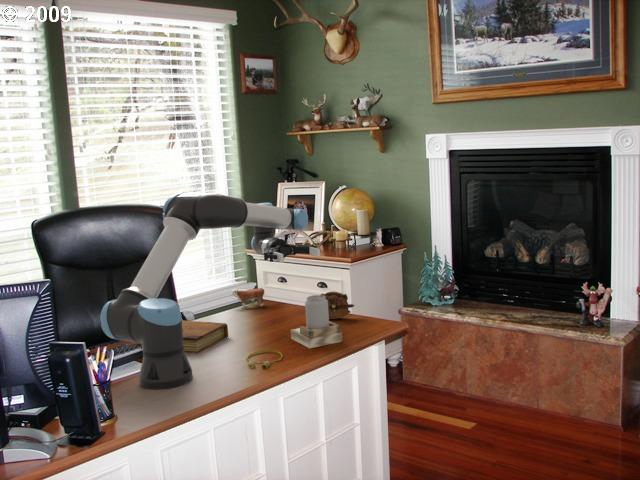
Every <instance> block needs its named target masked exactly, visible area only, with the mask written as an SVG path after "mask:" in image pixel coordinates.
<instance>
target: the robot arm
mask: <svg viewBox="0 0 640 480" xmlns="http://www.w3.org/2000/svg"><path fill="white" fill-rule="evenodd" d="M162 211H163V213H162V218H163V220H162V225H163V230H162V231H161V233H160V235H159V236H158V239H157V240H156V242H155V244H154V245H153V247H152V249H151V250H150V252H149V253H148V256H147V258H146V259H145V261H144V263H143V264H142V265H141V267H140V269H139V271H138V272H137V275H136V276H135V277H134V279H133V281H132V283H131V285H130V287H127V288H124V289H122V290H121V291H120V293H119V295H118V297H117V299H112V300H110V301H107V302H106V303H105V304H104V305H103V307H102V309H101V311H100V317H99V318H100V323H101V329H102V331H103V333H104V334H105V336H107V337H109V338H110V339H112V340H117V341H119V342H131V343H137V344H141V347H142V348H141V349H142V356H143V357H142V361H141V367H140V370H139V375H138V376H139V377H138V378H139V385H140V386H141V387H143V388H145V389H150V390H151V389H152V390H162V389H170V388H176V387H179V386H181V385H184V384H187V383H189V382H190V381H192V379H193V376H194V374H193V368H192V366H191V364H190V362H189V359H188V357H187V356H186V353H185V352H184V344H183V331H182V320H183V319H182V318H183V317H182V313H181V308H180V305H179V303H177V301H175V300H173V299H169V298H162V297H161V298H158V297H159V295H160V292H161V291H162V289H163V287H164V285H166V282H167V280H168V278H169V276H170V275H171V273H172V271H173V269H174V268H175V266H176V264H177V262H178V260H179V258H180V256H181V255H182V253H183V252H184V249H185V248H186V245H188V242H190V241H193V240H195V239H196V238H197V236H198V234H199V232H200V231H201V230H212V229H213V230H214V229H215V230H216V229H222V228H223V229H224V228H225V229H226V228H240V227H242V226H248V227H250V226H251V227H253V232H254V233H253V237H252V239H251V241H250V246H251V249H252V250H253V252H255V253H256V254H258V255H261V256H263V260H264V261H267V260H269V262H270V263H272V262H273V263H274V261H276V262H280V263H284V261H285V258H286V257H288V256H295V255H297V254H298V255H301V254H302V255H309V256H313V257H316V258H320V257H321V250H320V248H318V245H314V243H313V244H298V243H297V244H290V243H288V242H287V241H286V240H285V239H283V238H279V237H276V236H275V230H289V231H291V230H293V231H299V230H301V231H302V230H304V229H306V228H307V226H308V224H309V214H308V212H307V211H306V210H305V209H303V208H302V209H301V208H289V207H282V206H281V207H280V206H274V205H273V203H272V202H260V203H259V202H258V203H253V202H246V201H244V200H243V198H238V197H235V196H228V195H225V194H220V193H215V192H186V191H185V192H184V191H183V192H178V193H174V194H172V195H171V196H169V197H168V198H167V199H166V201H165V203H164V204H163V208H162Z"/></svg>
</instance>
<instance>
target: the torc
mask: <svg viewBox="0 0 640 480" xmlns="http://www.w3.org/2000/svg"><path fill="white" fill-rule="evenodd" d="M260 353H261V354H265V353H269V354H271V353H272V354H278V355H280V356H281V357H280V358H279V359H276V360H272V361H269V360H265V361H264V362H254V361H252V360H250V359H249V358H251V357H253V355H254V356H257V355H261V354H260ZM256 354H257V355H256ZM250 356H251V357H250ZM248 357H249V358H248ZM282 359H283V354H282V353H281V352H280V351H278V350H272V349H270V350H269V349H266V350H260V351H255V352H252V353H250V354H248V356H246V362H247V364H248V368H249V369H256V368H257V366H256V365H261V369H262V370H267V369H268V368H269V366H270V364H276V363H277V362H280V361H282ZM248 361H249V362H248ZM255 363H257V364H256V365H255Z"/></svg>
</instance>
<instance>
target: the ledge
mask: <svg viewBox="0 0 640 480" xmlns="http://www.w3.org/2000/svg"><path fill="white" fill-rule="evenodd" d="M290 338H291V340H292V341H295V342H297V343H299V344H301V345H302V346H304V347H306V348H308V349H314V348H318V347H322V346H323V347H324V346H327V345H328V346H329V345H332V344H337V343H342V342H343V332H341V326H340V325H339V324H338V323H336V322H333V321H330V320H329V327H324V328H319V329H314V330H311V329H308V328H307V326H303V325H301V326H299V327H297V328H293V329H290Z"/></svg>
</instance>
